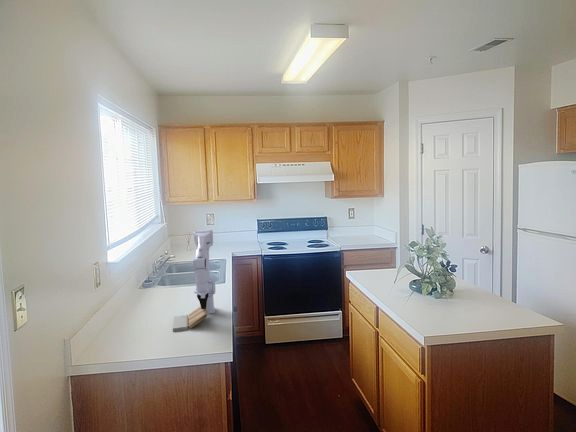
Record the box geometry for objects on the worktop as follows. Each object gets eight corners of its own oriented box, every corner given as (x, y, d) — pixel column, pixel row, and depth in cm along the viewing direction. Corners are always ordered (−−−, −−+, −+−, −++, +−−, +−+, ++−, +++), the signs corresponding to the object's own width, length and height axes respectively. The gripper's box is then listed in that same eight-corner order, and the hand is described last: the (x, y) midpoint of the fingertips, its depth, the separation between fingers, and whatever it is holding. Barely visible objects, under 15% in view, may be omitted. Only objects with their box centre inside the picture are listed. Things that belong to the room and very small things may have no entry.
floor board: (174, 319, 219) (174, 316, 219) (188, 317, 220) (188, 314, 220) (172, 331, 201) (172, 328, 201) (188, 329, 203) (187, 326, 203)
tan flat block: (190, 316, 221) (188, 314, 220) (206, 305, 222) (204, 303, 222) (190, 328, 203) (188, 326, 203) (207, 316, 204) (205, 314, 204)
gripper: (193, 279, 218) (195, 305, 219) (193, 286, 203) (195, 314, 205) (207, 278, 219) (209, 303, 220) (208, 284, 205) (210, 312, 206)
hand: (203, 308), depth 213 cm, fingers closed
